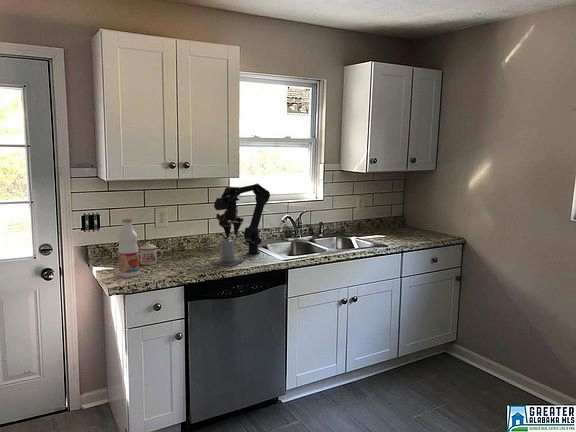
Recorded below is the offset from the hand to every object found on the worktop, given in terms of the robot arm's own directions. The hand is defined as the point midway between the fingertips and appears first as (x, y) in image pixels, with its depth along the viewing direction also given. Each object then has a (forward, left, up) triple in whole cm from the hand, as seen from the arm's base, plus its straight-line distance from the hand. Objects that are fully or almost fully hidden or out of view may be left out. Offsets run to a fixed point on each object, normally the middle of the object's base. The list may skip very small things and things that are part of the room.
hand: (231, 235), depth 274 cm
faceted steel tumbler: (+12, +4, -12) cm, 18 cm away
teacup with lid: (+29, -34, -13) cm, 47 cm away
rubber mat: (+12, +4, -13) cm, 18 cm away
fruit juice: (+53, -28, -13) cm, 62 cm away
